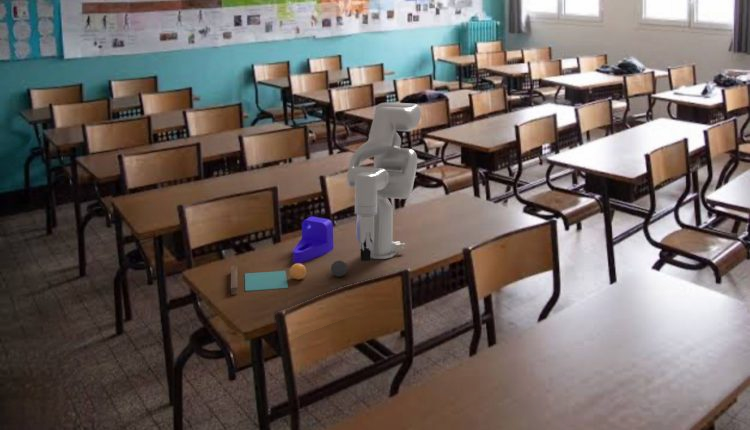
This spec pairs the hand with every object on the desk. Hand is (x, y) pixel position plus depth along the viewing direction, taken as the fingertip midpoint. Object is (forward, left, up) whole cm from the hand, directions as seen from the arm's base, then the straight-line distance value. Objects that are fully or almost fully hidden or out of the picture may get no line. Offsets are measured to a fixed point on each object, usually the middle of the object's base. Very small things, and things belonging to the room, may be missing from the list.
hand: (365, 260), depth 248 cm
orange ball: (+23, -1, -3) cm, 23 cm away
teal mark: (+34, -1, -6) cm, 35 cm away
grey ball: (+9, -1, -3) cm, 10 cm away
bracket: (+18, -22, -6) cm, 29 cm away
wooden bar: (+45, -1, -6) cm, 45 cm away
